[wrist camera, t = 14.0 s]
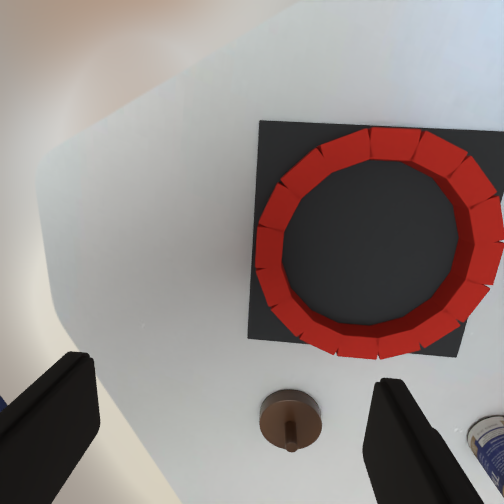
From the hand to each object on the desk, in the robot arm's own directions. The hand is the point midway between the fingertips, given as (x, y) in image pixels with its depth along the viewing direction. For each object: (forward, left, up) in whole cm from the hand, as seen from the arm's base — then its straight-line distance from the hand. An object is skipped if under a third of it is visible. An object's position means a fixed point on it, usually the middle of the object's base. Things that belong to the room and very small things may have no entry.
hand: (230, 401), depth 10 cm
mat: (+9, +1, -18) cm, 21 cm away
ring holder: (+4, -18, -18) cm, 26 cm away
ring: (+9, +1, -18) cm, 20 cm away
